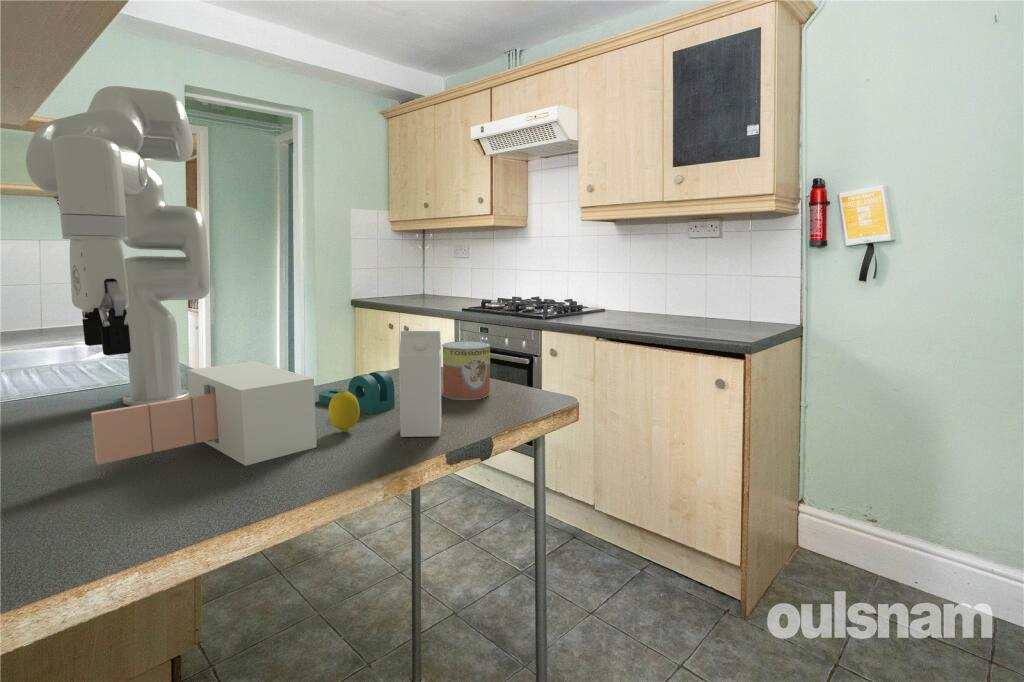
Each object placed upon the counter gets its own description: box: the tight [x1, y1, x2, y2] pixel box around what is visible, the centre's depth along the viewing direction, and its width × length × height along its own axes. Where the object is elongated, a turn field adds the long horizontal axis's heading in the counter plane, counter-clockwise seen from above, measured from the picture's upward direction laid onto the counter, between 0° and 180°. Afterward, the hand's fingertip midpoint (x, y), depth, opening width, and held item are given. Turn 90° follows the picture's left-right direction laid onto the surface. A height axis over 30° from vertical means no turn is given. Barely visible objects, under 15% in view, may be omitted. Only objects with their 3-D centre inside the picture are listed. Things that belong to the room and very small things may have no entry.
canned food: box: [441, 340, 491, 401], centre depth 134 cm, size 11×11×12 cm
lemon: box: [328, 390, 361, 433], centre depth 105 cm, size 6×6×8 cm
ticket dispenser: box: [186, 360, 318, 467], centre depth 98 cm, size 13×22×12 cm, turn 48°
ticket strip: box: [90, 393, 218, 466], centre depth 89 cm, size 18×1×8 cm, turn 138°
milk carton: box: [398, 330, 442, 438], centre depth 105 cm, size 7×7×19 cm
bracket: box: [318, 370, 395, 415], centre depth 124 cm, size 18×7×8 cm, turn 60°
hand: (107, 349), depth 82 cm, fingers open, 9 cm apart
